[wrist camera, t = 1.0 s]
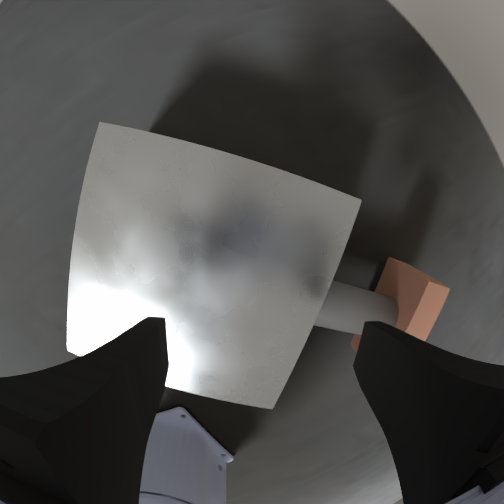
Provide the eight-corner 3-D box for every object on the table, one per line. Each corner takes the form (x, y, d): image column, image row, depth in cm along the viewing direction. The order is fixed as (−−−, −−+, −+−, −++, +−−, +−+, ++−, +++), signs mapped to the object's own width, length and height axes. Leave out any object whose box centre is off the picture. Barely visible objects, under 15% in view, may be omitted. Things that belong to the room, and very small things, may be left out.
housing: (261, 345, 22) (272, 409, 15) (109, 301, 20) (67, 350, 13) (318, 190, 19) (362, 200, 12) (144, 138, 17) (99, 122, 11)
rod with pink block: (370, 347, 21) (398, 385, 16) (121, 283, 18) (90, 316, 13) (409, 264, 19) (450, 289, 14) (143, 179, 17) (111, 181, 12)
